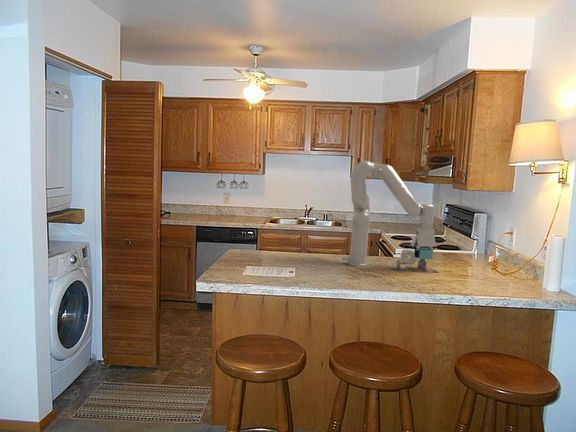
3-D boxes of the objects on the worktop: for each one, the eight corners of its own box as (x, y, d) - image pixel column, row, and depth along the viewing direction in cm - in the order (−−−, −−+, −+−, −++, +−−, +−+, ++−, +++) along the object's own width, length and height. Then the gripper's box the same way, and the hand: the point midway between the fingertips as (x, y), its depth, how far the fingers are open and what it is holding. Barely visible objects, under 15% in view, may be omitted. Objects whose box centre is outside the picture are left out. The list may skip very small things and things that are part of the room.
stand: (393, 272, 239) (394, 262, 238) (386, 268, 249) (387, 258, 248) (410, 273, 241) (411, 262, 240) (402, 269, 250) (403, 258, 250)
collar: (420, 259, 242) (421, 250, 241) (414, 256, 249) (414, 247, 248) (432, 259, 243) (433, 250, 243) (425, 256, 250) (426, 248, 250)
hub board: (414, 273, 240) (415, 261, 239) (405, 268, 252) (406, 256, 251) (438, 274, 242) (439, 262, 242) (427, 269, 254) (429, 257, 253)
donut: (415, 264, 265) (417, 248, 264) (417, 266, 262) (419, 249, 261) (399, 263, 265) (400, 247, 264) (400, 265, 262) (402, 248, 261)
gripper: (414, 226, 239) (411, 258, 241) (443, 227, 242) (440, 259, 244) (408, 224, 246) (405, 255, 248) (436, 225, 250) (433, 256, 252)
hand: (423, 257), depth 246 cm, fingers closed on collar, 7 cm apart
